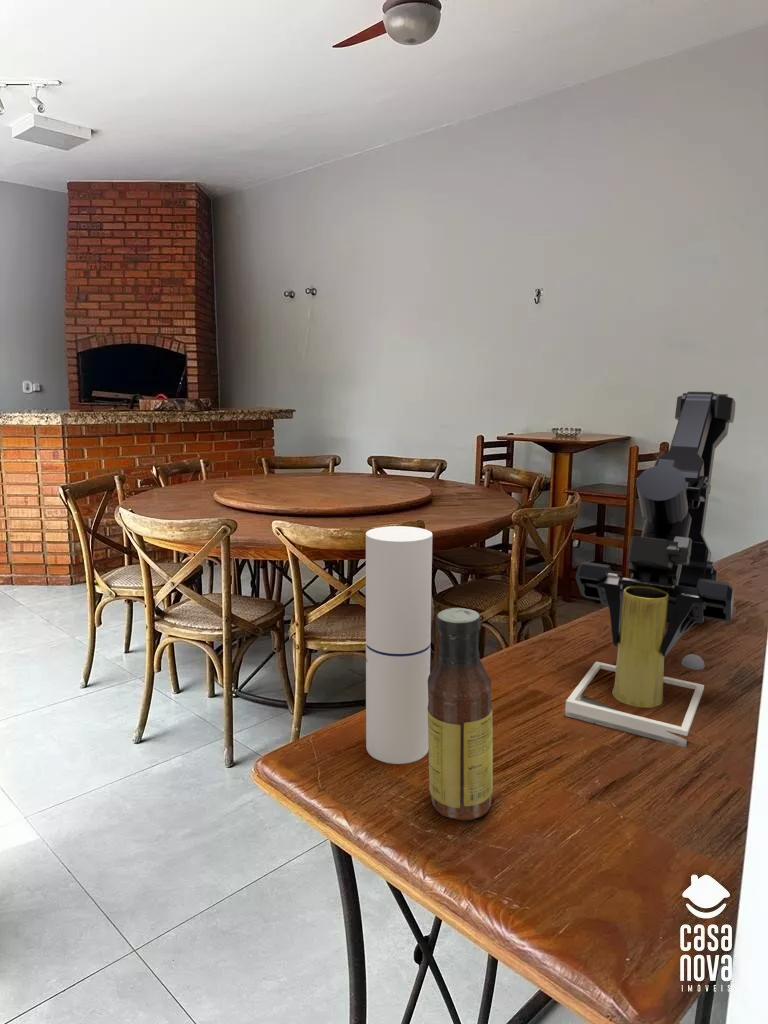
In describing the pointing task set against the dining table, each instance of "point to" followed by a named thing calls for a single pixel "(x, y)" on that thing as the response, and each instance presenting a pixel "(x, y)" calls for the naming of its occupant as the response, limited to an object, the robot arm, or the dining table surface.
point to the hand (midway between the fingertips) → (638, 649)
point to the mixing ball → (693, 662)
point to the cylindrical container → (398, 642)
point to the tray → (616, 719)
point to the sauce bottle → (460, 720)
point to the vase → (641, 647)
